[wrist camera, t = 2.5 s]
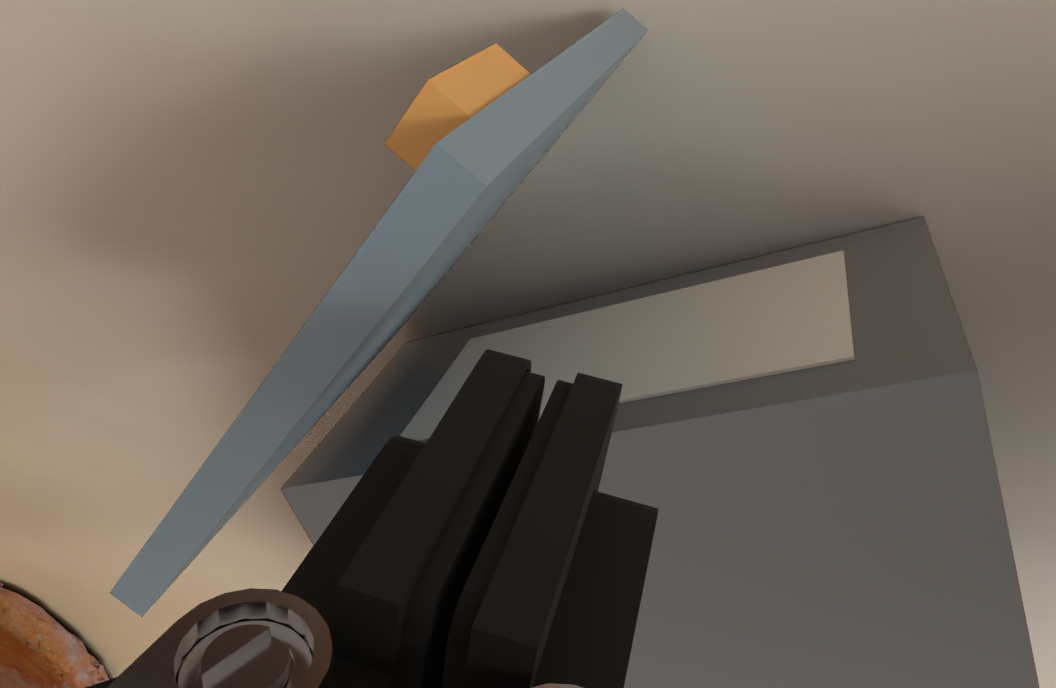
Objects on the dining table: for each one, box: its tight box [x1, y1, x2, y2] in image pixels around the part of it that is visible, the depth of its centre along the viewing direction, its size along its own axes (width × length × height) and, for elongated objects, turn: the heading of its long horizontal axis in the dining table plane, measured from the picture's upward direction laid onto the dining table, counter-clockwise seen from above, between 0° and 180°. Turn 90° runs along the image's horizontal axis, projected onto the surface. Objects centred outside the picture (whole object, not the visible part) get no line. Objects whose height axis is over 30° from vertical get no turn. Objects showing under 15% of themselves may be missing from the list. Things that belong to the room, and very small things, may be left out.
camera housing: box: [281, 216, 1039, 688], centre depth 24 cm, size 18×12×8 cm, turn 112°
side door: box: [110, 8, 647, 617], centre depth 19 cm, size 12×2×12 cm, turn 142°
